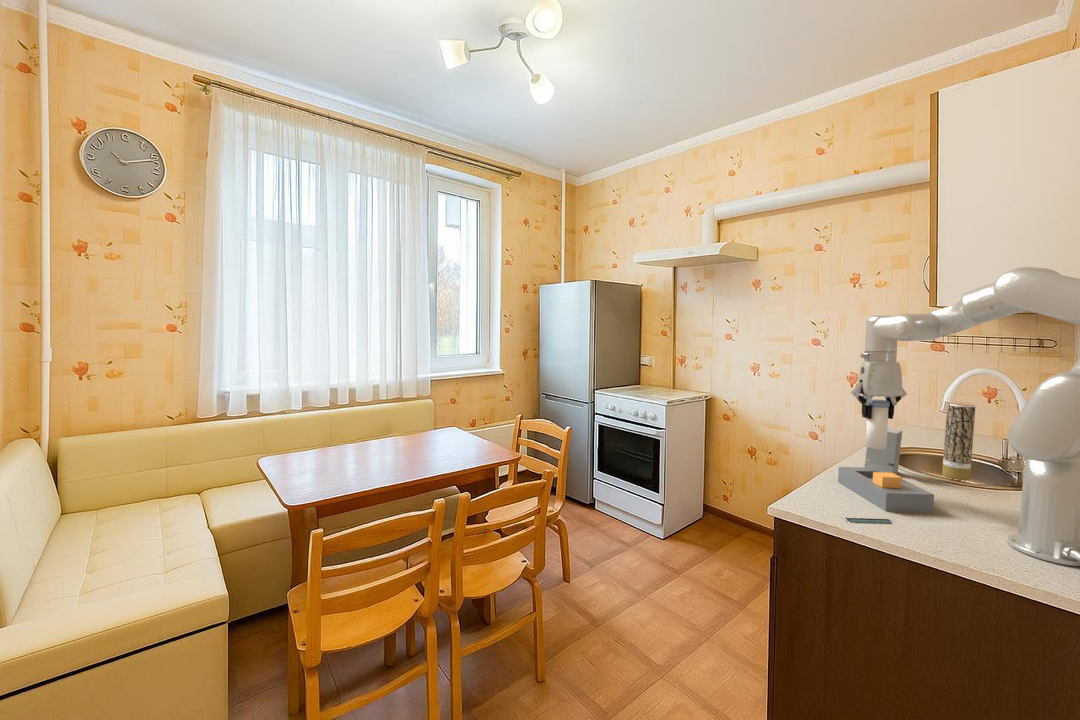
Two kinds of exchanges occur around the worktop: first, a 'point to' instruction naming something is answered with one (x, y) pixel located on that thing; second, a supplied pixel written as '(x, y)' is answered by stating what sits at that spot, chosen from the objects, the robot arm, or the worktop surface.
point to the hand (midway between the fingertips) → (877, 417)
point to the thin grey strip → (869, 520)
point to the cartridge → (877, 425)
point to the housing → (886, 491)
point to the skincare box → (886, 453)
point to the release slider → (887, 480)
